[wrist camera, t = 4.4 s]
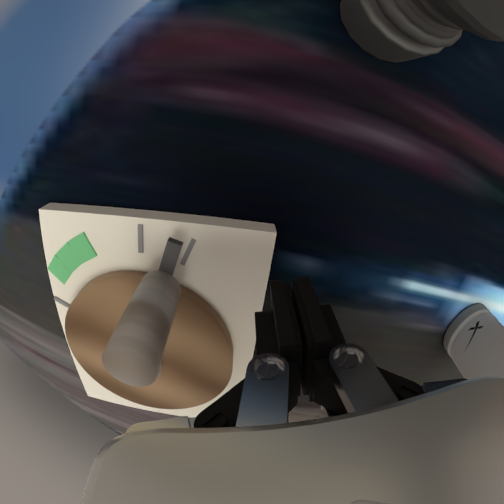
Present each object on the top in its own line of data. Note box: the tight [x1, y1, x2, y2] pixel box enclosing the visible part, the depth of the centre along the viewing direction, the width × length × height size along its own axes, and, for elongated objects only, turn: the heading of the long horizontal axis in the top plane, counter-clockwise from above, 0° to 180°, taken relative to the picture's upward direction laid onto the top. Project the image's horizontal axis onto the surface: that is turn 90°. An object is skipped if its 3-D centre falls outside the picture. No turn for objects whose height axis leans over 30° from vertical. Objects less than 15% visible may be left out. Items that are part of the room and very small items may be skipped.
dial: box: [65, 237, 233, 409], centre depth 16 cm, size 16×13×8 cm
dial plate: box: [39, 203, 277, 417], centre depth 21 cm, size 20×16×2 cm
